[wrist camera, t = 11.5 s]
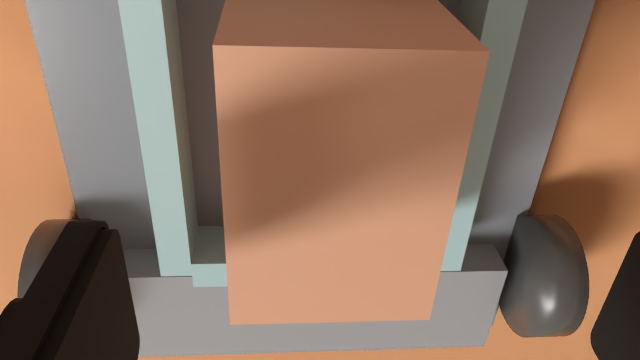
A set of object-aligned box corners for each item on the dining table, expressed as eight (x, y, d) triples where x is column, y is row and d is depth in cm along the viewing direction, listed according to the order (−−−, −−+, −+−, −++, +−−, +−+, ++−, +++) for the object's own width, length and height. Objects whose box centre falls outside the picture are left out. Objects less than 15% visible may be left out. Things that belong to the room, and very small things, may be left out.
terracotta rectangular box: (415, -22, 15) (489, 51, 10) (386, 188, 18) (429, 320, 13) (233, -28, 14) (212, 44, 9) (241, 189, 18) (230, 324, 13)
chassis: (716, -334, 12) (905, -409, 9) (506, 307, 24) (550, 394, 20) (-106, -407, 11) (-301, -535, 7) (89, 317, 22) (52, 414, 18)
